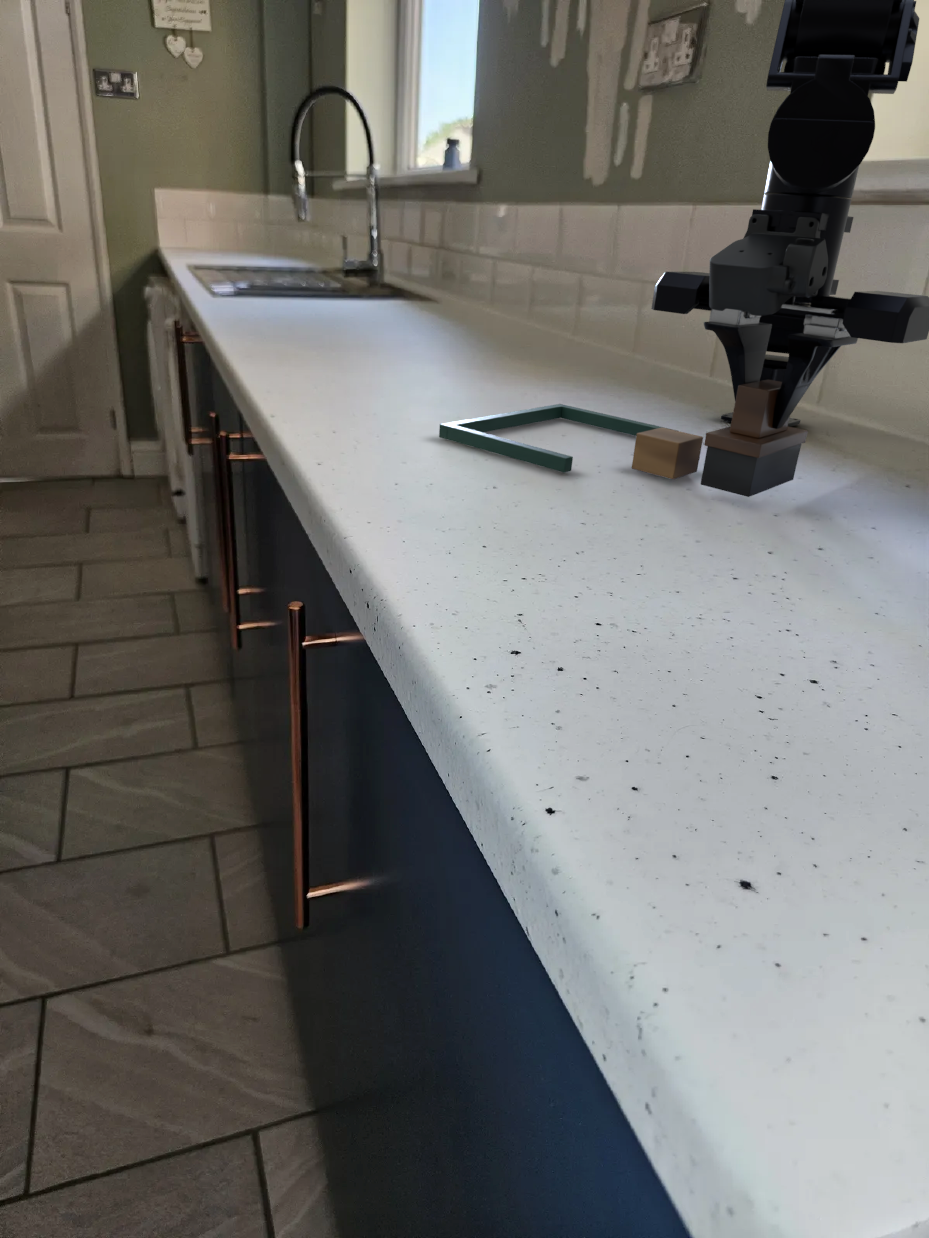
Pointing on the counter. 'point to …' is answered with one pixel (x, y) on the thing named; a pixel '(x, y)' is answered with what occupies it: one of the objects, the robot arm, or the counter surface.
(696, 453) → the cork block
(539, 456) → the frame
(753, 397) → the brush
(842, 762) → the counter surface
